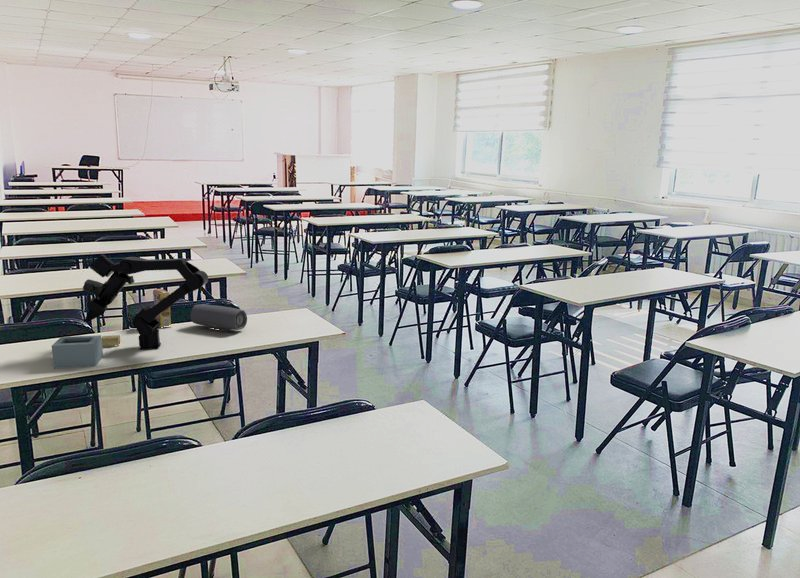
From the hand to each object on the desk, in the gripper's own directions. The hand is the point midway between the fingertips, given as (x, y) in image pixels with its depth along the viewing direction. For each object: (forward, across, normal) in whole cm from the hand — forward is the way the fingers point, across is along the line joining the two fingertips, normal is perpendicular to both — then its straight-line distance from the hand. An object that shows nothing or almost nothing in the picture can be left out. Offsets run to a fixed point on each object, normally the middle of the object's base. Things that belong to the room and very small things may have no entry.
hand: (89, 316), depth 224 cm
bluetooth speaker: (-17, -17, +43) cm, 49 cm away
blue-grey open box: (+7, +19, +7) cm, 21 cm away
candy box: (-1, -25, +25) cm, 36 cm away
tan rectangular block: (+6, 0, +12) cm, 13 cm away
